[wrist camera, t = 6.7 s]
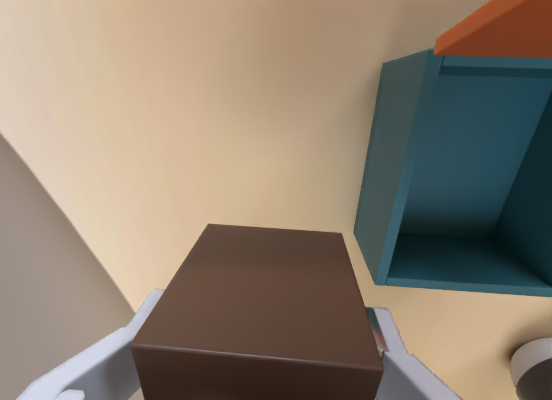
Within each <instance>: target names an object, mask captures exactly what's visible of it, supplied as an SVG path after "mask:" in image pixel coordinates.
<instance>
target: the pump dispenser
mask: <svg viewBox="0 0 552 400" xmlns="http://www.w3.org/2000/svg"><path fill="white" fill-rule="evenodd" d="M510 373H511V377H512V381H513V383H514V386H515V388H516V394H517V397H518V398H519V400H552V337H550V338H541V339H536V340H533V341H530V342H528V343H526V344H524V345H523V346H521V347H520V348H519V349H518V350H517V351H516V352H515V353H514V355H513V357H512V359H511V363H510Z"/></svg>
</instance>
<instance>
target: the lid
mask: <svg viewBox="0 0 552 400" xmlns="http://www.w3.org/2000/svg"><path fill="white" fill-rule="evenodd" d="M434 55H435V56H476V57H518V58H552V0H491V1H490V2H488V3H487V4H485V5H484V6H482V7H481V8H480V9H478V10H477V11H475V12H474V13H472V14H471V15H470V16H468V17H467V18H465V19H464V20H462V21H461V22H460V23H458V24H457V25H455V26H454V27H452V28H451V29H450V30H448V31H447V32H445V33H444V34H442V35H441V36H440V37H438V38H437V39H436V44H435V50H434Z"/></svg>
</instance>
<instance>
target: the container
mask: <svg viewBox="0 0 552 400" xmlns="http://www.w3.org/2000/svg"><path fill="white" fill-rule="evenodd" d="M434 50H435V49H429V50H425V51H422V52H419V53H415V54H412V55H409V56H406V57H402V58H399V59H396V60H392V61H389V62H386V63H383V65H382V71H381V77H380V83H379V89H378V94H377V100H376V106H375V112H374V117H373V123H372V129H371V135H370V141H369V146H368V152H367V158H366V164H365V169H364V175H363V181H362V187H361V193H360V198H359V204H358V210H357V216H356V222H355V227H354V235H355V237H356V240H357V242H358V244H359V247H360V249H361V252H362V254H363V257H364V259H365V262H366V264H367V267H368V269H369V271H370V274H371V276H372V279H373V281H374V284H375V285H386V286H399V287H413V288H428V289H442V290H456V291H470V292H484V293H499V294H513V295H527V296H541V297H552V58H518V57H476V56H435V55H434Z"/></svg>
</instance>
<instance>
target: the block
mask: <svg viewBox="0 0 552 400" xmlns="http://www.w3.org/2000/svg"><path fill="white" fill-rule="evenodd" d="M130 350H131V353H132V357H133V360H134V364H135V368H136V371H137V375H138V378H139V382H140V385H141V388H142V392H143V396H144V399H145V400H375V398H376V395H377V392H378V389H379V386H380V383H381V379H382V376H383V373H384V366H383V363H382V360H381V357H380V353H379V350H378V347H377V344H376V341H375V338H374V334H373V331H372V328H371V325H370V322H369V318H368V315H367V312H366V309H365V306H364V303H363V299H362V296H361V293H360V290H359V287H358V284H357V280H356V277H355V274H354V271H353V268H352V264H351V261H350V258H349V255H348V252H347V249H346V245H345V242H344V239H343V236H342V233H334V232H320V231H305V230H291V229H277V228H262V227H248V226H234V225H220V224H208V225H207V226H206V228H205V229H204V231H203V232H202V234H201V236H200V237H199V239H198V240H197V242H196V243H195V245H194V246H193V248H192V249H191V251H190V252H189V254H188V256H187V257H186V259H185V260H184V262H183V263H182V265H181V266H180V268H179V269H178V271H177V272H176V274H175V276H174V277H173V279H172V280H171V282H170V283H169V285H168V286H167V288H166V289H165V291H164V292H163V294H162V296H161V297H160V299H159V300H158V302H157V303H156V305H155V306H154V308H153V309H152V311H151V312H150V314H149V316H148V317H147V319H146V320H145V322H144V323H143V325H142V326H141V328H140V329H139V331H138V332H137V334H136V336H135V337H134V339H133V340H132V342H131V343H130Z"/></svg>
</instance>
